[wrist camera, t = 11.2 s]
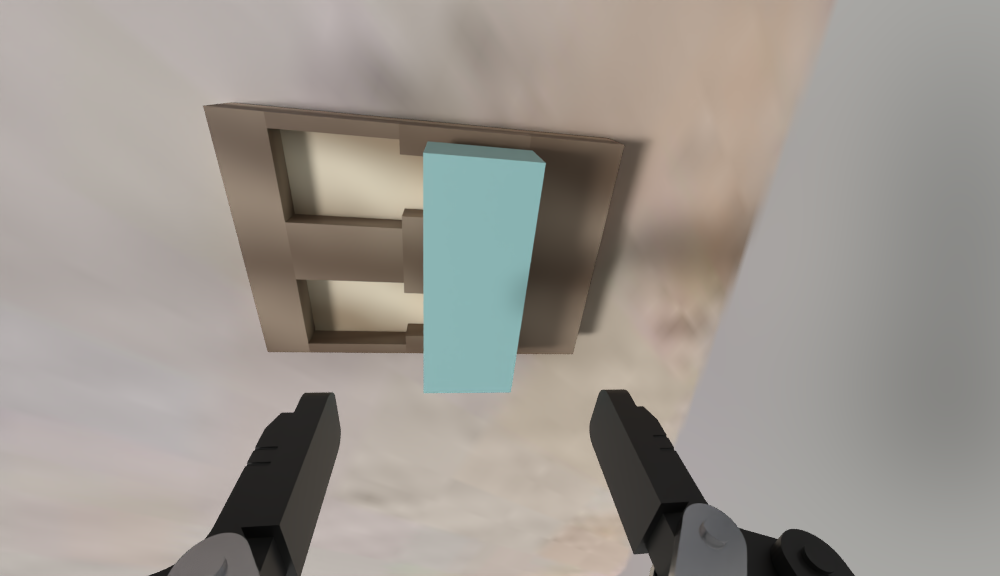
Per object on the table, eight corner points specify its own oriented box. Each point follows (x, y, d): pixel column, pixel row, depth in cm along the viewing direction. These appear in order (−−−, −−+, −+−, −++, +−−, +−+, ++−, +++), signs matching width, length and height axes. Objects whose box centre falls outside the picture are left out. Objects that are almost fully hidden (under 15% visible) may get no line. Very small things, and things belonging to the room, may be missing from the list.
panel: (430, 134, 19) (422, 152, 15) (524, 142, 20) (545, 162, 15) (429, 334, 26) (423, 393, 21) (500, 335, 26) (510, 392, 22)
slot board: (231, 102, 19) (203, 105, 17) (608, 138, 21) (624, 144, 19) (283, 329, 25) (267, 351, 23) (564, 333, 28) (572, 354, 26)
